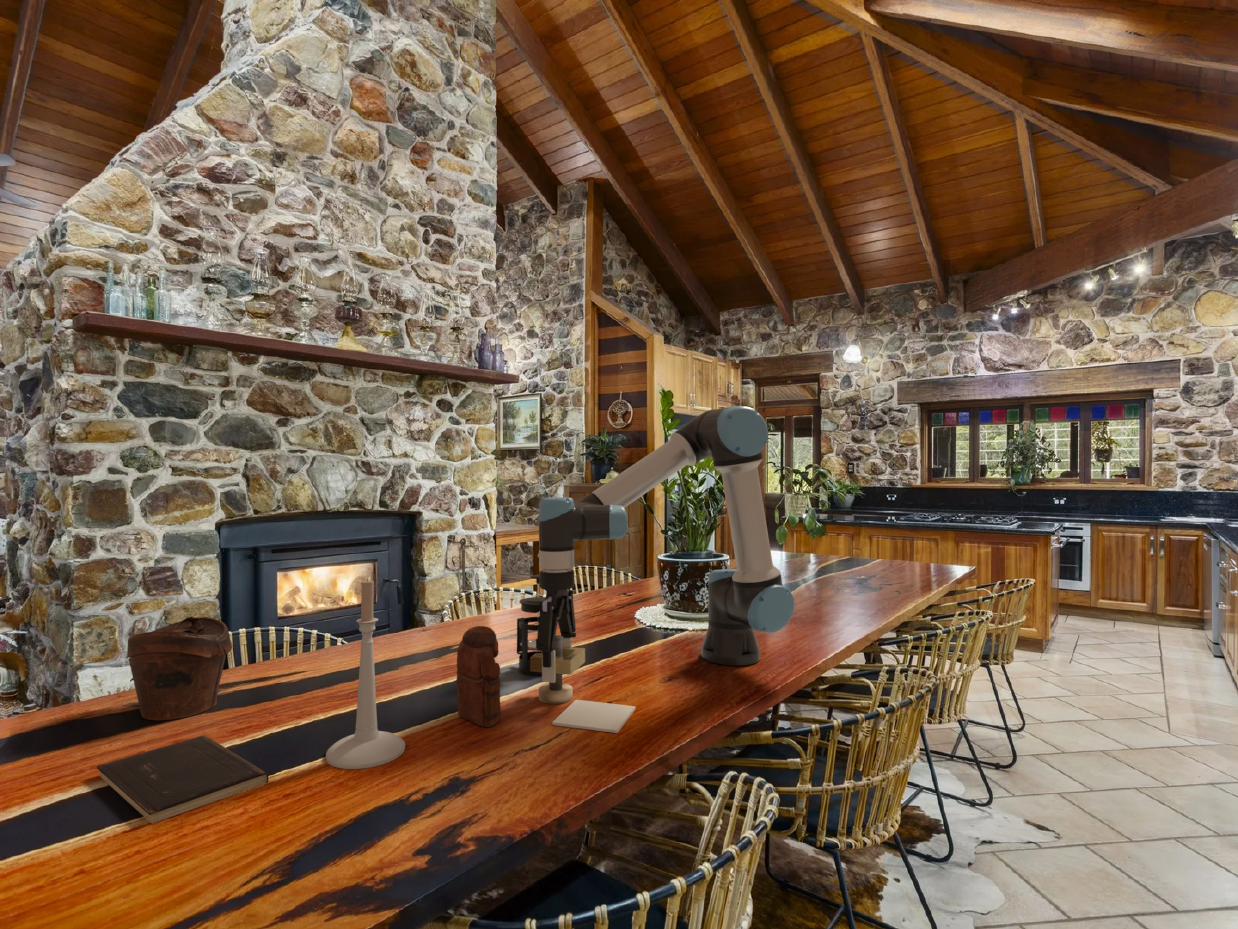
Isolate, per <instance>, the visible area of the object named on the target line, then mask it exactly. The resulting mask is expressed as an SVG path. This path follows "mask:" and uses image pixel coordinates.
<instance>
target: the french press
mask: <svg viewBox="0 0 1238 929" xmlns="http://www.w3.org/2000/svg"><path fill="white" fill-rule="evenodd" d="M529 578H530V579H534V580H536V582H535V583H536V584H537V586H536V587H537V588H536V589H537V592H536V593H537V596H535V597H534V596H532V597H526V598H522V599H520V600H519V604H520V607H521V608H520V611H521V612H525V613H530V614H531V613H532V614H536V616H530V617H529V616H528V617H519V618H517V619H516V655H519V656H518V669H517V671H518V672H519V674H522V675H525V676H531V677H534V676H535V677H538V676H539V677H540V676H541V677H542V672H532V671H530V657H531V656H532V655H534V654H535V653H541V651H537V639H538V627H539V614H540V611H539V602H540V601H545V598H546V596H545V597H544V596H540V587H539V574H534V575H530V576H529ZM529 623H536V624H529ZM529 631H536V639H535V638H534V639H529Z"/></svg>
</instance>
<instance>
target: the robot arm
mask: <svg viewBox="0 0 1238 929" xmlns="http://www.w3.org/2000/svg"><path fill="white" fill-rule="evenodd" d="M768 439H769V429H768V425H767V423H766V420H765V419H764V418H763V416H762V415H761V414H760V412H757V410H755V409H754V408H752V407H749V406H746V405H745V406H744V405H743V406H740V405H734V406H733V405H732V406H729V407H722V408H717V409H710V410H709V409H708V410H706V411H704V412H702V413H700V414H699V415H697V416H695V417H694V418H693V419H691V420H690V421H689V422H687V423H685V424H684V425H683V426H681V427H680V428H679V429H677V430H676V431H674V432H672V433H671V434H670V438H669V440H668V441H666V442H665V443H663V444H662V445H661V446H659V447H657V448H656V449H654V450H653V451H651V452H650V453H649V454H647V455H646V456H643V458H641V459H640V460H638V461H637V462H635V463H634V464H632V465H630V466H629V467H628V468H626V469H625V470H623V471H622V472H620V473H619V474H617V475H616V476H614V477H613V478H611V479H610V480H609V481H607V482H605V483H604V484H602V485H601V486H599V487H598V488H597V489H595V490H593V491H592V492H591V493H589V494H587V495H586V496H584V497H583V498H581V499H580V500H575V501H574V499H573V498H572V497H569V496H567V497H566V496H565V497H564V496H562V497H561V496H559V497H558V496H557V497H555V496H552V497H551V496H550V497H544V498H542V499H540V500H539V503H538V504H539V506H538V517H537V521H538V543H539V544H538V545H539V546H538V549H539V550H538V554H537V558H539V561H538V566H539V569H540V571H539V572H538V575H539V589H541V590H545V591H546V594H545V597H546V598H545V601H540V602H539V627H538V639H537V638H536V639H537V651H542V676H541V682H543V683H549V682H550V683H555V682H556V673H555V650H553V648H554V642H555V636H556V635H557V634H556V633H557V630H558V629H559V632H560V636H562V637H563V647H573V639H572V638H576V637H577V633H576V631H577V628H576V618H575V617H576V616H575V607H574V606H575V605H574V590H573V588H574V587H575V571H574V568H575V541H577V542H579V541H580V542H581V541H597V540H610V541H612V540H616V539H622V538H624V537H625V536H626V534H627V533H628V528H629V518H628V512H627V510H626V508H627V507H628V506H629V505H631V504H632V503H634V502H635V501H636V500H638V499H640V498H641V497H642V496H644V495H645V494H646V493H648V492H650V491H652V489H654V488H656V487H657V486H659V485H660V484H661V483H663V482H664V481H667V479H669V478H670V477H671V476H673V475H674V474H676V473H677V472H679V471H680V470H682V469H683V468H685V467H686V466H688V467H689V466H691V467H692V466H693V467H694V465H696V464H697V463H699V462H701V461H703V460H706V459H709V458H712V462H713V467H714V469H715V470H717V471H719V473H720V474H721V479H722V484H723V490H724V497H725V503H726V510H727V514H728V516H727V517H728V521H729V522H728V523H729V528H730V534H731V541H732V546H733V553H734V560H735V565H736V568H728V569H727V568H725V569H714V570H711V571H710V572H709V575H708V582H707V587H708V591H707V592H708V599H707V600H708V606H707V607H708V610H707V611H708V612H707V613H708V618H707V619H708V621H707V623H708V624H707V630H706V633H705V636H704V639H703V642H702V645H701V648H700V650H701V651H700V652H701V653H700V654H701V658H702V659H703V660H705V661H707V662H709V663H712V664H717V665H718V664H719V665H723V666H748V665H753V664H754V665H755V664H756V663H759V662H760V660H761V648H760V646H759V643H758V640H757V636H756V633H755V631H757V632H762V633H767V634H772V633H777V632H779V631H781V630H782V629H783V628H785V627H786V626H787V625H788V624H789V621H790V620H791V619H792V618H793V615H794V612H795V607H796V606H795V604H796V603H795V599H794V594H793V593H792V592H791V590H789V589H788V588H787V587H786V586H785V585H784V584H783V580H782V579H783V578H782V575H781V570H780V569H778V567H776V566H774V564H773V557H772V551H771V550H772V549H771V545H770V539H769V533H768V532H769V531H768V526H767V520H766V513H765V506H764V500H763V494H762V489H761V481H760V475H759V470H758V468H759V465H760V464H761V463H762V461H763V450H764V448H765V445H766V444H767V442H768ZM557 628H558V629H557Z"/></svg>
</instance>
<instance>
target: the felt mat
mask: <svg viewBox="0 0 1238 929" xmlns="http://www.w3.org/2000/svg"><path fill="white" fill-rule="evenodd" d="M635 710H636V706H634V705H628V704H627V705H626V704H616V703H608V702H601V701H593V700H592V701H591V700H583V699H582V700H581V699H575V700H574V701H573V702H572V703H571V704H569V706H567V708H566V709H564V710H563V711H562V713H560V714H559V715H558V716H557V717H556V718H555V719H554V720H553V721H552V726H557V727H565V728H566V727H567V728H572V729H573V728H574V729H584V730H590V731H591V730H592V731H598V732H606V733H607V732H608V733H613V734H614V733H615V734H618V733H619V732H620V730H622V728H623V726H624V725H625V724H626V723H627V721H628V720H629V718H630V717H631V716H632V714H633V713H634V712H635Z"/></svg>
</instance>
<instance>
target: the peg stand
mask: <svg viewBox="0 0 1238 929" xmlns="http://www.w3.org/2000/svg"><path fill="white" fill-rule="evenodd" d="M553 650H555V657H563V637H562V636H561V635H557V634H556V636H555V642H554V648H553ZM573 688H574V687H573V686H572V685H570V684H568V683H563V674H556V682H555V683H550V682H548V683H547V684H543V685H541V686H539V687H538V700H539V701H540V702H541V703H545V704H550V705H557V704H558V705H560V704H565V703H568V702H570V701H572V699H573V690H574V689H573Z"/></svg>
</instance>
